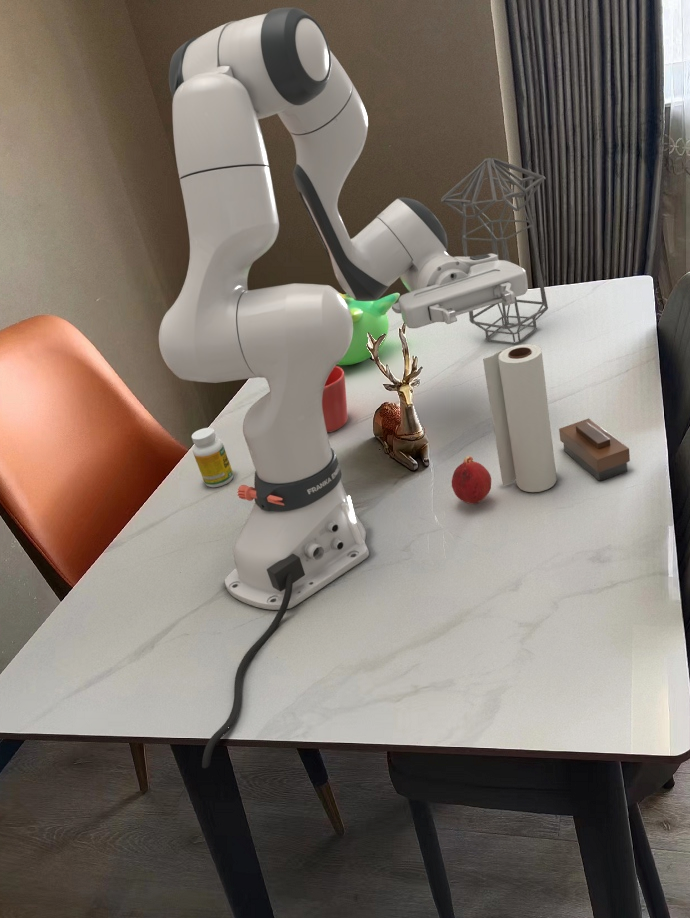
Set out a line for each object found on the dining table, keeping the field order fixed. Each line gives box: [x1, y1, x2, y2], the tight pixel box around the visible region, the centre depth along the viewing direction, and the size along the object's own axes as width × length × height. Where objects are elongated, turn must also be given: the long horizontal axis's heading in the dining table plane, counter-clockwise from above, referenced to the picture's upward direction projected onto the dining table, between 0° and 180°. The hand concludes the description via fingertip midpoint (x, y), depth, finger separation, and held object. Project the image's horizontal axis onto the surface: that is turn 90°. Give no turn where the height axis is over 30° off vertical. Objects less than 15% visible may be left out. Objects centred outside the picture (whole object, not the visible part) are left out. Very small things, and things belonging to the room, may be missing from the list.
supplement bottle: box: [191, 427, 234, 488], centre depth 150 cm, size 5×5×10 cm
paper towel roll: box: [482, 344, 557, 493], centre depth 125 cm, size 7×6×21 cm
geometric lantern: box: [440, 157, 549, 346], centre depth 170 cm, size 16×16×35 cm
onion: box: [451, 455, 492, 505], centre depth 127 cm, size 6×6×8 cm
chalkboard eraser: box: [558, 418, 631, 482], centre depth 131 cm, size 12×5×5 cm, turn 18°
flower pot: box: [322, 365, 348, 433], centre depth 160 cm, size 11×11×10 cm
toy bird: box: [336, 291, 401, 366], centre depth 182 cm, size 18×17×15 cm
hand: (481, 308), depth 127 cm, fingers open, 8 cm apart
